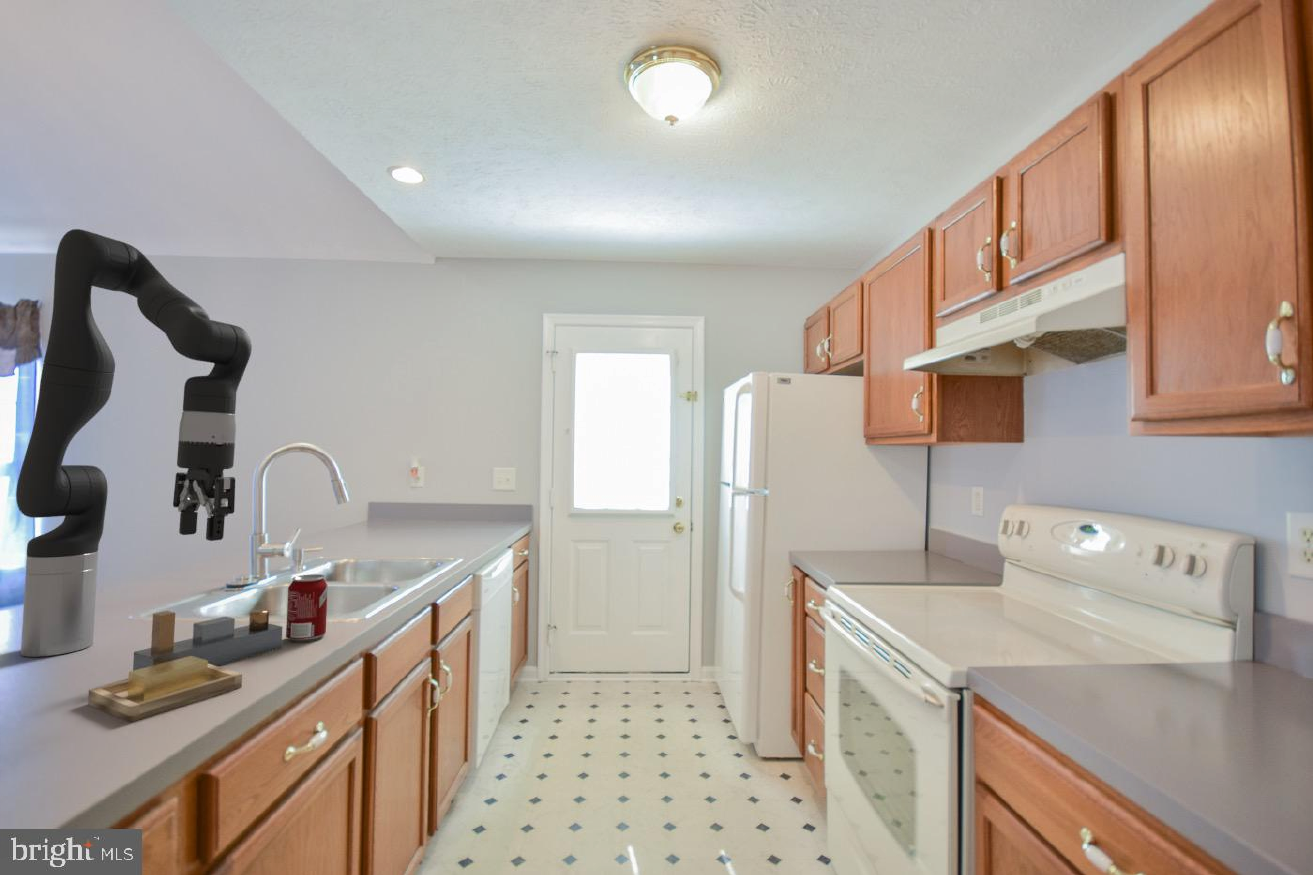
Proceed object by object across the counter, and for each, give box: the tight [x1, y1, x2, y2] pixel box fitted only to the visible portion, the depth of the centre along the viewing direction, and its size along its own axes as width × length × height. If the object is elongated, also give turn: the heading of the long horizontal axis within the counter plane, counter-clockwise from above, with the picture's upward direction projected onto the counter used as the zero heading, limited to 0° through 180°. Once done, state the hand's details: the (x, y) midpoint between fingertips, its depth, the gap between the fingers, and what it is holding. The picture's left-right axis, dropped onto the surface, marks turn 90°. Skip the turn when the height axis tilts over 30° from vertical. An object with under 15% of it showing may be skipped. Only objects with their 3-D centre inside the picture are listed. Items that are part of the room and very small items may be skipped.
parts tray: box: [87, 664, 243, 723], centre depth 88 cm, size 12×14×2 cm
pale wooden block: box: [127, 656, 208, 702], centre depth 88 cm, size 4×8×4 cm, turn 154°
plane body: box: [132, 608, 283, 671], centre depth 103 cm, size 20×6×10 cm, turn 154°
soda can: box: [285, 573, 329, 643], centre depth 117 cm, size 7×7×12 cm
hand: (200, 537), depth 98 cm, fingers open, 8 cm apart
